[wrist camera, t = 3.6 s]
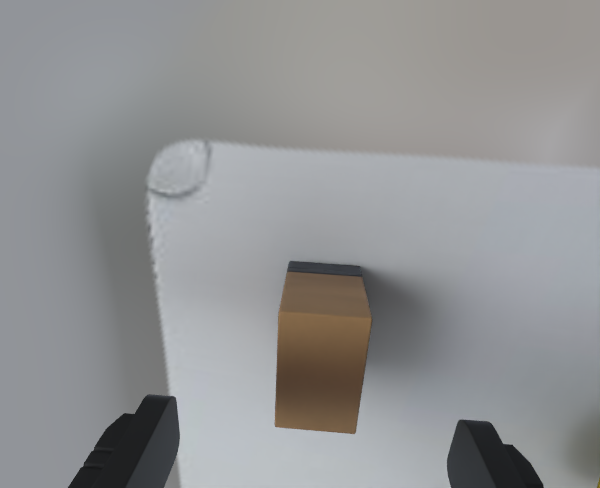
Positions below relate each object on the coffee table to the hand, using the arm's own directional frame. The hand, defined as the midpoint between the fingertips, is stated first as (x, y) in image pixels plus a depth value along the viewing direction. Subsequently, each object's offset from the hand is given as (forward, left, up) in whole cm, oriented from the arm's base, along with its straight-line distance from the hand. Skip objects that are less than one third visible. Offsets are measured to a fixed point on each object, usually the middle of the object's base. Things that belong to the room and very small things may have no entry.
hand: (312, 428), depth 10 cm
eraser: (0, 0, -6) cm, 6 cm away
